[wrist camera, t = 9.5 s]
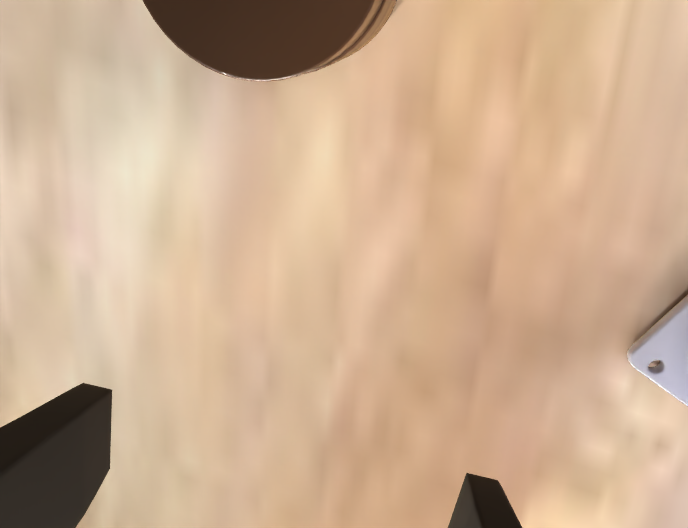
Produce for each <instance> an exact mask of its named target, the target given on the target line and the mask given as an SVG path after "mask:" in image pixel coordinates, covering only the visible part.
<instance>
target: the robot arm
mask: <svg viewBox="0 0 688 528" xmlns="http://www.w3.org/2000/svg"><path fill="white" fill-rule="evenodd" d="M627 358H628V360H629V362H630V364H631V365H632V366H633V367H634V368H635V369H636V370H638V371H639V372H641V373H642V374H643V375H645V376H646V377H648V378H649V379H650V380H652V381H653V382H654V383H656V384H657V385H659V386H660V387H661V388H663V389H664V390H666V391H667V392H668V393H670V394H671V395H672V396H674V397H675V398H677V399H678V400H679V401H681V402H682V403H684V404H685V405H686V406H688V295H687V296H686V297H684V298H683V299H682V300H681V301H680V302H679V303H678V304H677V305H676V306H675V307H673V308H672V309H671V310H670V311H669V312H668V313H667V314H666V315H665V316H663V317H662V318H661V319H660V320H659V321H658V322H657V323H656V324H655V325H654V326H652V327H651V328H650V329H649V330H648V331H647V332H646V333H645V334H644V335H642V336H641V337H640V338H639V339H638V340H637V341H636V342H635V343H634V344H632V345H631V347H630V348H629V349H628V352H627ZM654 360H659V361H660V363H659V364H658V365H657V366H655V367H648V365H649V364H650V362H652V361H654ZM111 408H112V390H111V389H107V388H102V387H98V386H94V385H90V384H85V383H82V384H80V385H78V386H76V387H74V388H72V389H71V390H69V391H67V392H65V393H63V394H61V395H60V396H58V397H56V398H54V399H52V400H51V401H49V402H47V403H45V404H43V405H42V406H40V407H38V408H36V409H34V410H32V411H31V412H29V413H27V414H25V415H23V416H22V417H20V418H18V419H16V420H14V421H12V422H10V423H8V424H7V425H5V426H3V427H1V428H0V528H75V527H76V526H77V524H78V523H79V522H80V520H81V519H82V517H83V516H84V514H85V513H86V511H87V509H88V507H89V506H90V504H91V502H92V500H93V499H94V497H95V495H96V493H97V491H98V490H99V488H100V486H101V484H102V482H103V480H104V478H105V476H106V475H107V473H108V471H109V469H110V446H111ZM448 528H522V526H521V524H520V522H519V520H518V519H517V517H516V515H515V513H514V511H513V509H512V507H511V505H510V503H509V501H508V499H507V496H506V494H505V492H504V490H503V488H502V486H501V485H500V483H499V482H498V480H494V479H490V478H486V477H481V476H477V475H473V474H469V473H466V476H465V479H464V482H463V485H462V488H461V491H460V494H459V497H458V500H457V503H456V506H455V508H454V511H453V514H452V517H451V520H450V523H449V526H448Z"/></svg>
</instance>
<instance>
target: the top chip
mask: <svg viewBox="0 0 688 528" xmlns="http://www.w3.org/2000/svg"><path fill="white" fill-rule="evenodd" d="M382 1H383V0H143V2H144V4H145V6H146V7H147V9H148V11H149V12H150V14H151V16H152V17H153V19H154V20H155V22H156V23H157V24H158V26H159V27H160V28H161V30H162V31H163V32H164V33H165V35H166V36H167V37H168V38H169V39H170V40H171V41H172V42H173V43H174V44H175V45H176V46H177V47H178V48H179V49H181V50H182V51H183V52H184V53H185V54H187V55H188V56H189V57H190V58H192V59H194V60H195V61H197V62H198V63H200V64H201V65H203V66H205V67H207V68H209V69H211V70H213V71H215V72H217V73H220V74H223V75H226V76H229V77H232V78H236V79H242V80H248V81H275V80H283V79H287V78H291V77H295V76H298V75H301V74H303V73H306V72H308V71H311V70H313V69H315V68H317V67H320V66H322V65H324V64H327V63H328V62H330V61H332V60H333V59H335V58H337V57H338V56H340V55H341V54H342V53H344V52H345V51H346V50H348V49H349V48H350V47H351V46H352V45H353V44H354V43H355V42H356V41H357V40H358V39H359V38H360V37H361V36H362V35H363V33H364V32H365V31H366V29H367V28H368V27H369V25H370V24H371V22H372V21H373V19H374V17H375V15H376V14H377V12H378V10H379V8H380V6H381V3H382Z"/></svg>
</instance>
